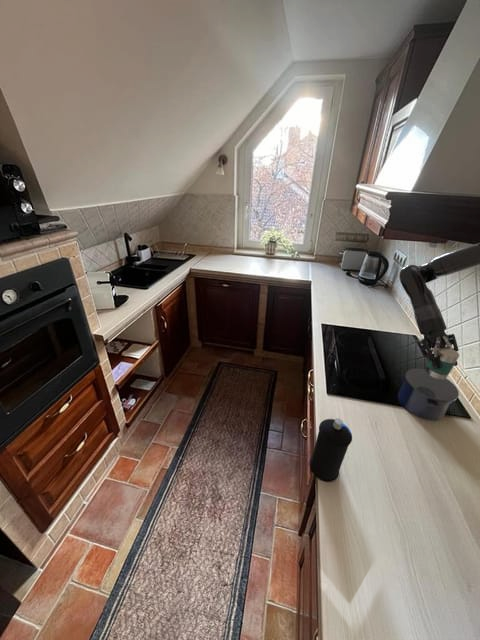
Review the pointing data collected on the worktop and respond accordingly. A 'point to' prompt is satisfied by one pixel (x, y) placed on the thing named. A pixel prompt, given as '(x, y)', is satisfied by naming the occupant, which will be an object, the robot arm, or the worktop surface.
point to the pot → (426, 395)
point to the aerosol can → (330, 449)
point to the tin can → (443, 363)
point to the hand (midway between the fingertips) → (446, 367)
